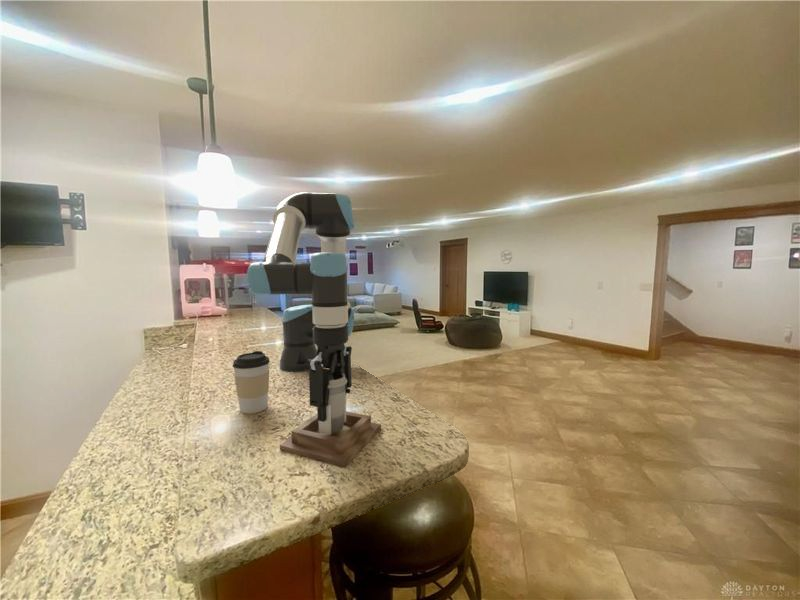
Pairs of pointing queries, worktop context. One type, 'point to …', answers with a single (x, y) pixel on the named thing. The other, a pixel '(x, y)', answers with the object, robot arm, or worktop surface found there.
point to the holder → (332, 439)
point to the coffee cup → (252, 381)
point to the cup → (337, 402)
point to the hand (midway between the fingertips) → (333, 426)
